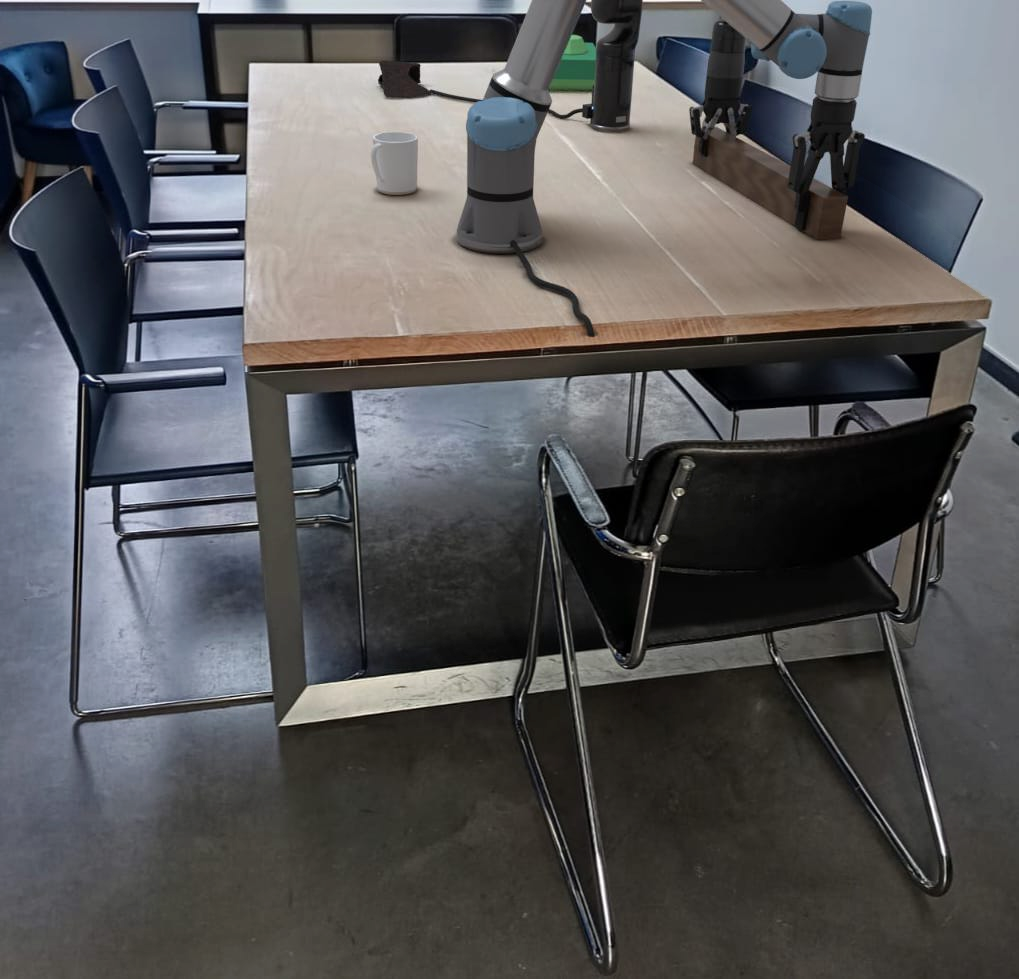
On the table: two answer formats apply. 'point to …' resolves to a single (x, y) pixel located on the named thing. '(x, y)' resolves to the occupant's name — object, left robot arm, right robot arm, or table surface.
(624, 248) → the table surface
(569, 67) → the toy tank
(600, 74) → the right robot arm
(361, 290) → the table surface
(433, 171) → the table surface
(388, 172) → the mug
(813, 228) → the beam
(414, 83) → the axe head
